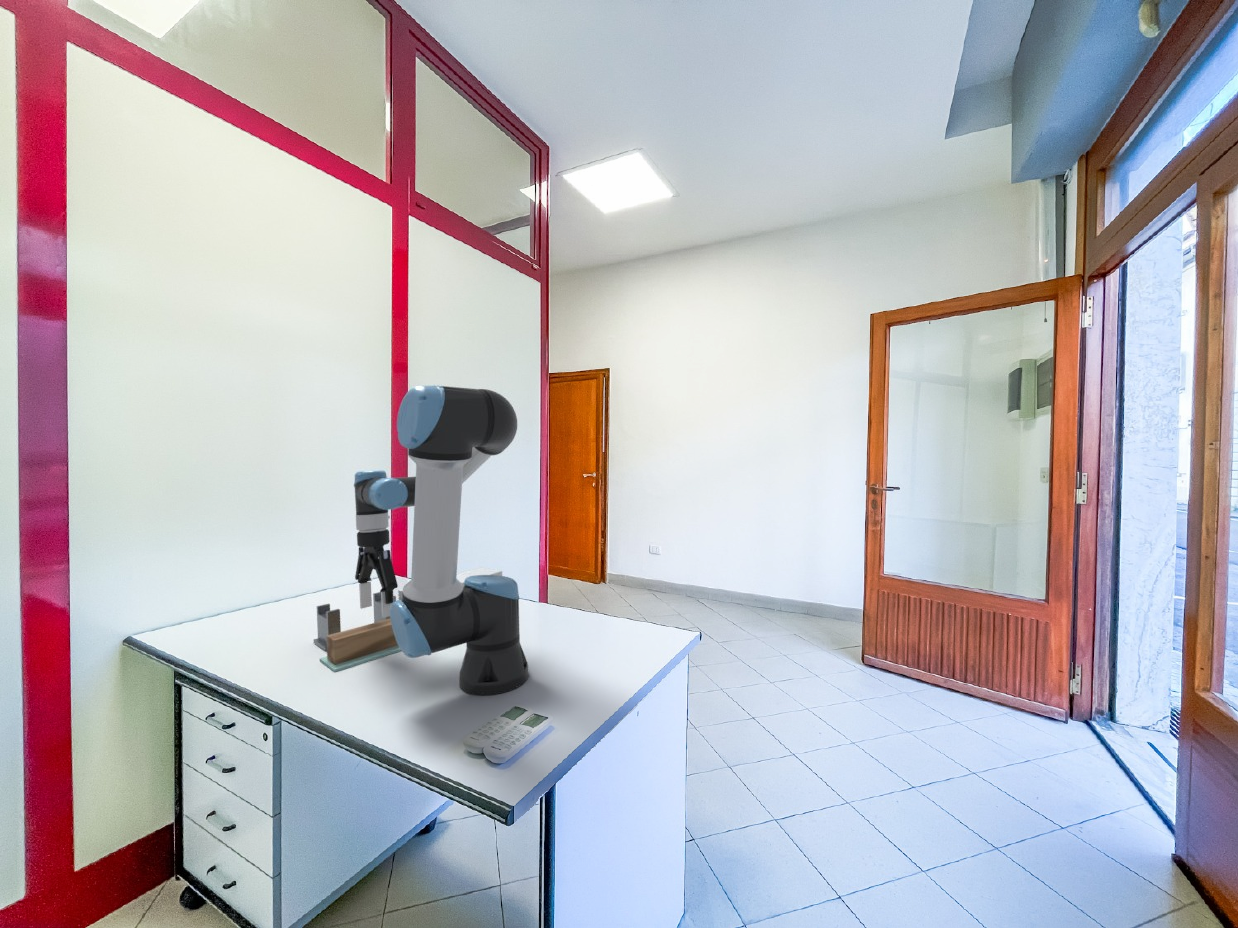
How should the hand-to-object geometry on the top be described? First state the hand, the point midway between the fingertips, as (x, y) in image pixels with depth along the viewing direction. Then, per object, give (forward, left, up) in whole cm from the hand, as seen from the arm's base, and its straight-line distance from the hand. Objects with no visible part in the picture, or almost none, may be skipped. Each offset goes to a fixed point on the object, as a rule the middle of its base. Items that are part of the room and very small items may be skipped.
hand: (376, 611), depth 129 cm
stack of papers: (+13, -29, -11) cm, 34 cm away
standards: (+16, -1, -10) cm, 19 cm away
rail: (+1, 0, -10) cm, 10 cm away
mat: (+1, 0, -10) cm, 10 cm away
